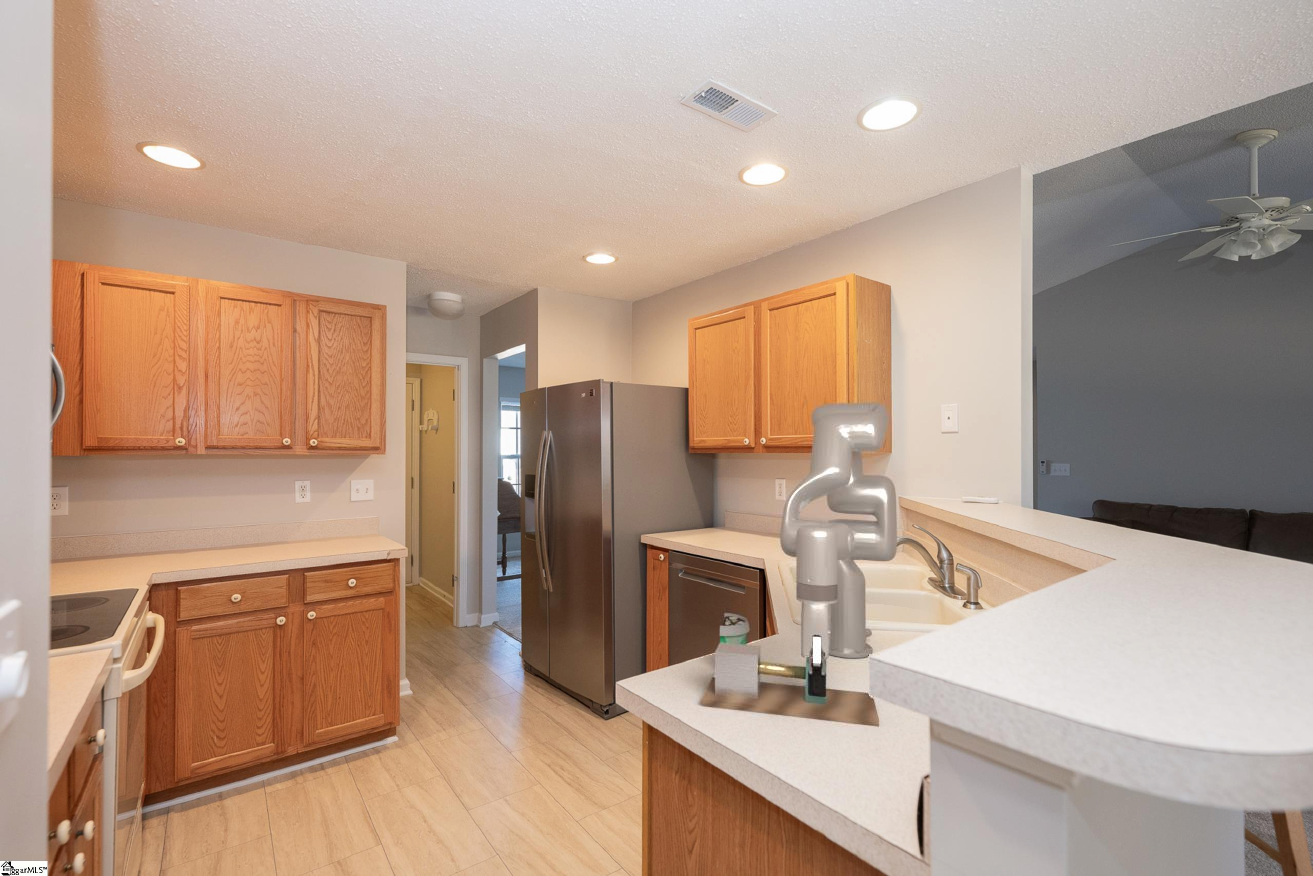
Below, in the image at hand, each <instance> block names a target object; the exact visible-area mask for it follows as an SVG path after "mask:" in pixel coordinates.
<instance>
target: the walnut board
mask: <svg viewBox="0 0 1313 876" xmlns="http://www.w3.org/2000/svg"><path fill="white" fill-rule="evenodd" d="M868 693H869V692H863V691H855V690H854V691H853V690H843V689H835V688H834V689H833V688H832V689H831V688H826V704H819V703H811V702H805V696H806V685H805V686H804V685H796V684H795V685H794V684H787V683H786V684H785V683H776V682H764V681H760V691H759V695H758V699H753V698H744V697H735V696H725V695H716V694H715V676H712V677H711V679H710V681H709V684H708V685H707V687H706V689H705V691H704V693H703V696H702V698H701V706H702V707H708V708H709V707H710V708H717V709H724V710H725V709H728V710H736V711H744V712H752V713H760V714H768V715H769V714H770V715H778V716H786V717H787V716H788V717H796V718H804V719H813V720H821V721H828V722H829V721H831V722H839V723H848V724H855V725H862V726H863V725H864V726H873V727H880V719H879V714H878V709H877V707H876V702H875V699H873V698H874V697H873V698H871V697H870V696H869V694H868Z"/></svg>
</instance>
